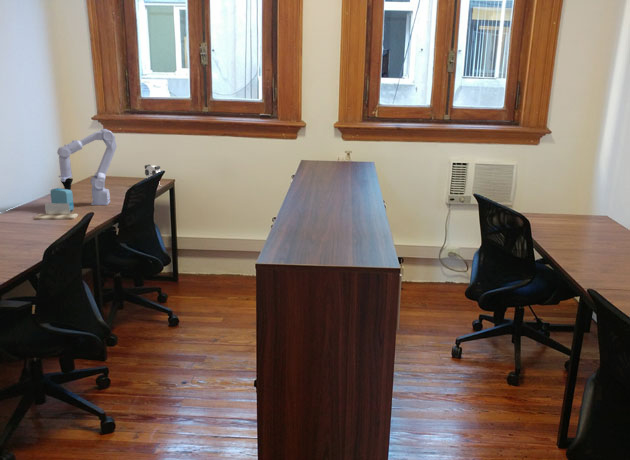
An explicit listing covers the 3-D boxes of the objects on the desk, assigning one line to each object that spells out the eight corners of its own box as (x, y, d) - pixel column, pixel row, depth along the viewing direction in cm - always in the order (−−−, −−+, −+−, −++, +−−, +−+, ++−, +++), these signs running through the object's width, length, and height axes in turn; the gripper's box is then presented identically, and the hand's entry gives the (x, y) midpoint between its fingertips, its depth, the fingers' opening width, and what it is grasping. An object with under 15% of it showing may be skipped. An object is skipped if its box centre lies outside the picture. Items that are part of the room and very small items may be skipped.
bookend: (78, 215, 304) (76, 202, 302) (73, 219, 297) (72, 206, 295) (39, 215, 302) (37, 203, 300) (34, 219, 294) (32, 206, 292)
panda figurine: (141, 187, 375) (139, 165, 371) (154, 184, 384) (153, 163, 380) (153, 190, 369) (152, 167, 365) (166, 187, 378) (165, 165, 374)
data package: (74, 211, 313) (72, 190, 310) (67, 212, 309) (65, 191, 306) (58, 208, 318) (56, 187, 315) (51, 210, 314) (49, 189, 311)
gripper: (62, 165, 322) (64, 188, 326) (54, 170, 308) (56, 194, 312) (74, 165, 323) (77, 188, 327) (67, 170, 309) (70, 194, 313)
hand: (68, 191), depth 320 cm, fingers closed
